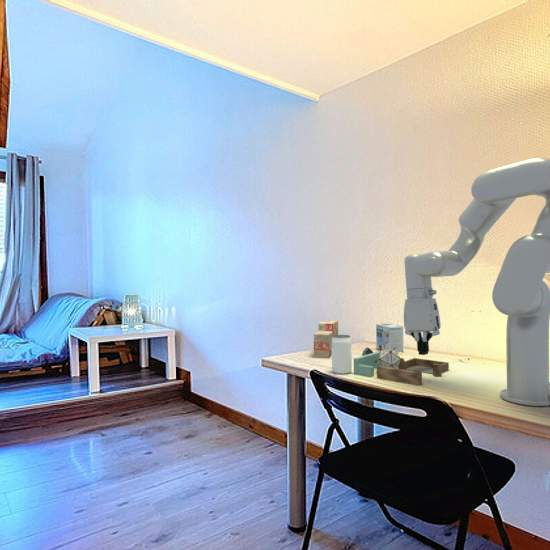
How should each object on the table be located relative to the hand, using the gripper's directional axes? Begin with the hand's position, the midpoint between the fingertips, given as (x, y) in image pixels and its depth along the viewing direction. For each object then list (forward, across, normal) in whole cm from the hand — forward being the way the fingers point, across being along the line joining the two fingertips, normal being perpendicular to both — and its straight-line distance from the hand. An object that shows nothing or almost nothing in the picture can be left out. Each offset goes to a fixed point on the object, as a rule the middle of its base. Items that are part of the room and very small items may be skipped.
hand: (423, 354), depth 136 cm
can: (+6, +25, +8) cm, 27 cm away
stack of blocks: (+5, +49, -16) cm, 52 cm away
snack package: (+7, +25, -12) cm, 29 cm away
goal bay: (+7, +17, 0) cm, 18 cm away
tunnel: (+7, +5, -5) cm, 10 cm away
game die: (+7, +13, -1) cm, 15 cm away
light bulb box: (+6, +31, -35) cm, 47 cm away
